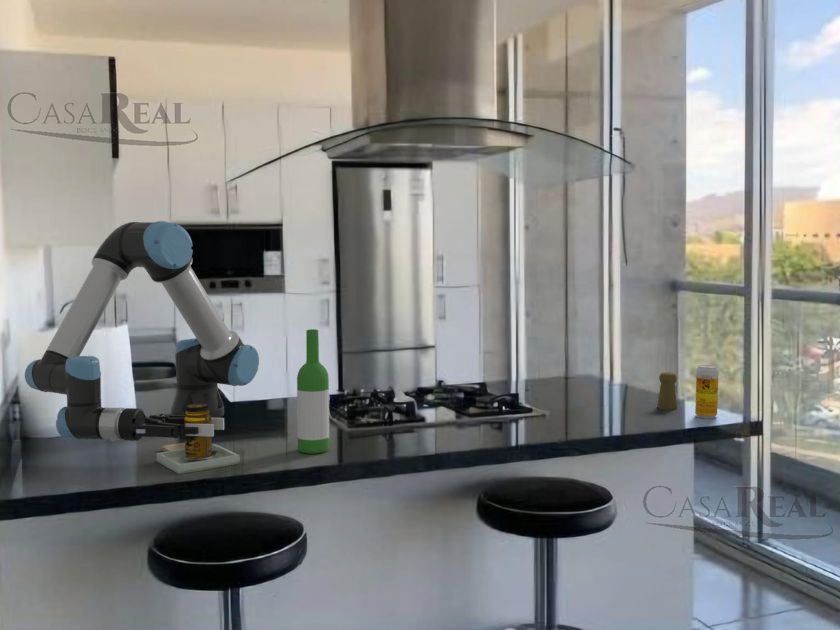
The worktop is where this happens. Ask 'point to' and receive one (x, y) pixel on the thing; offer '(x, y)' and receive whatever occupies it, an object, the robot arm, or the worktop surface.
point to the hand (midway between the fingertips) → (218, 427)
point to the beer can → (706, 391)
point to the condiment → (198, 444)
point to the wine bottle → (312, 400)
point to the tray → (197, 460)
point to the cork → (667, 391)
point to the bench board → (173, 447)
